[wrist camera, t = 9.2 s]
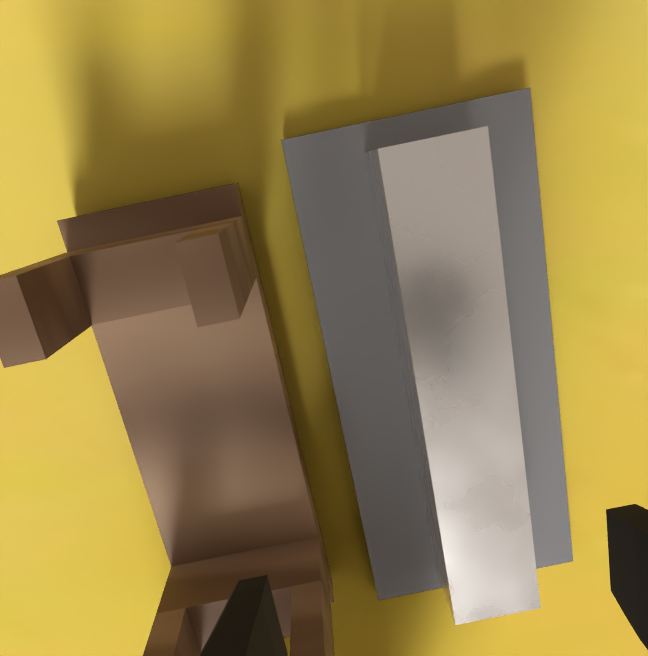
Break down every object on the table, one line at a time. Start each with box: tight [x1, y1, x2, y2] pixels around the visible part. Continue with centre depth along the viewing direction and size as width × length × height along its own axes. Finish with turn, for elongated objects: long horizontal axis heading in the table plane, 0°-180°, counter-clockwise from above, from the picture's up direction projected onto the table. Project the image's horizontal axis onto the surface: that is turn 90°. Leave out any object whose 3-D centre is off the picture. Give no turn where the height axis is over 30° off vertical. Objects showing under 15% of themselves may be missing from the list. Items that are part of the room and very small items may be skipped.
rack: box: [0, 183, 334, 656], centre depth 17 cm, size 16×6×6 cm, turn 11°
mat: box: [281, 88, 573, 600], centre depth 20 cm, size 18×8×1 cm, turn 11°
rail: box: [365, 126, 541, 625], centre depth 18 cm, size 16×3×3 cm, turn 11°
